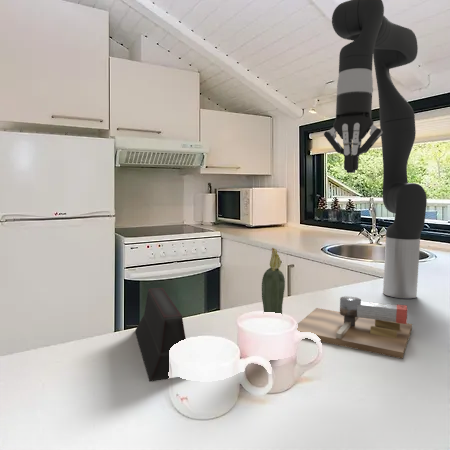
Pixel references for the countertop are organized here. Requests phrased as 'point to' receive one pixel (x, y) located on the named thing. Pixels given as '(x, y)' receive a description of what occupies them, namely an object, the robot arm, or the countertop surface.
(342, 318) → the door board
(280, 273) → the vegetable
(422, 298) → the countertop surface
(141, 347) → the barrier
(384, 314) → the bar
